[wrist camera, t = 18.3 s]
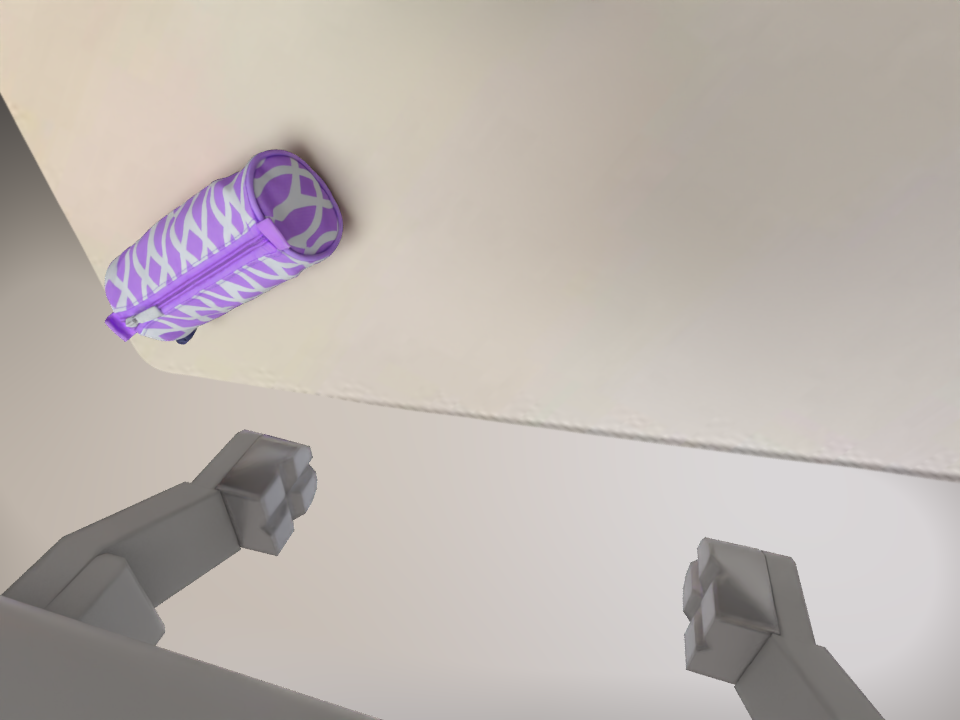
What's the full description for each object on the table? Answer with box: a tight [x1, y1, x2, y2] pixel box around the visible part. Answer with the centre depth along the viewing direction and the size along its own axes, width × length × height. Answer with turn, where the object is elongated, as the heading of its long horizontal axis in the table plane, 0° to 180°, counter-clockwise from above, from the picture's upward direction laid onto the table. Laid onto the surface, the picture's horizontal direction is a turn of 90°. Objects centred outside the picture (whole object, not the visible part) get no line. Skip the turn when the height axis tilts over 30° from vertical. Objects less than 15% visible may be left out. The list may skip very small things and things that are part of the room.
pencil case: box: [105, 150, 343, 344], centre depth 44 cm, size 22×9×10 cm, turn 124°
